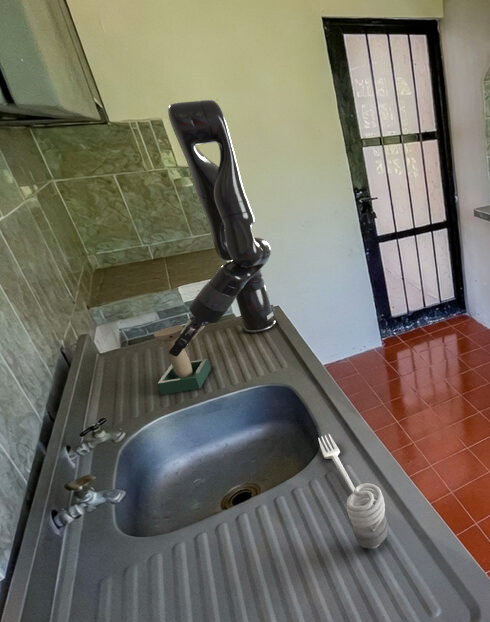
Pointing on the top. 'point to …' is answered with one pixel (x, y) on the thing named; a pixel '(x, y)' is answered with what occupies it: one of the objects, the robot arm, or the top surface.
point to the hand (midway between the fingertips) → (179, 346)
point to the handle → (181, 361)
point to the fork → (335, 459)
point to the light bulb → (368, 515)
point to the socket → (176, 384)
